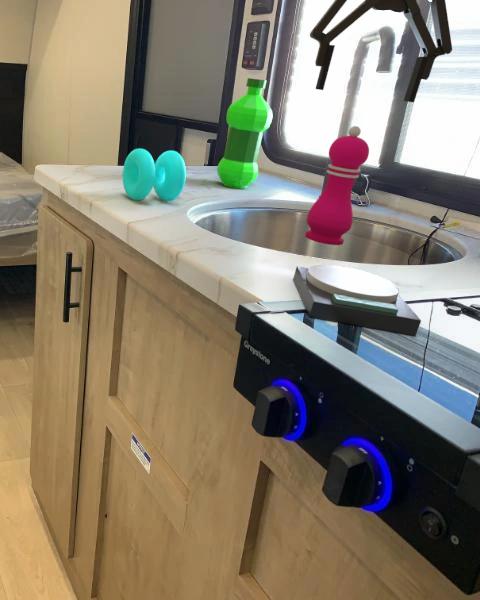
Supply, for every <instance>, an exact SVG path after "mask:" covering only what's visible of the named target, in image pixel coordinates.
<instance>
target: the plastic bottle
mask: <svg viewBox="0 0 480 600" xmlns="http://www.w3.org/2000/svg"><path fill="white" fill-rule="evenodd" d="M267 82H268V81H267V80H266V79H259V78H252V77H251V78H250V77H248V78H247V80H246V85H245V87H247V91H246V92H247V93H246V94H244V95H242V96H241V97H240V98H239V97H238V99H236V100H235V101H234V102H232V103H231V104H230V105H229V107H228V108H227V111H226V116H225V117H226V124H227V125H228V127H229V128H228V134H227V138H226V142H225V143H226V144H225V148H224V152H223V157H222V158H221V159H220V161H219V163H218V164H217V167H216V172H217V176H218V177H219V179H220V180H221V182H222V183H223V185H224V186H225V187H229V188H234V189H245V188H246V187H248V186H250V185H251V184H252V183H254V182H255V181H256V179H257V178H258V175H259V165H258V158H259V153H260V148H261V144H262V139H263V135H264V132H265V131H267V130H268V129H269V128H270V125H271V124H272V122H273V121H272V120H273V110H272V108H271V106H270V105H269V104H268V102H267V101H266V99H264V97H263V96H262V92H263V90H265V89H266V85H267Z"/></svg>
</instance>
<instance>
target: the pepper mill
mask: <svg viewBox="0 0 480 600" xmlns="http://www.w3.org/2000/svg"><path fill="white" fill-rule="evenodd" d="M361 132H362V130H361V128H360V127H359V126H357V125H354V126H351V127H350V128H349V129H348V135H343V136H340V137H338V138H336V139H335V140H334V141H333V142H332V143H331V145H330V147H329V149H328V157H329V159H330V161H331V163H329V164H328V165H327V166H328V168H327V170H326V173H327V174H328V175H327V181H326V184H325V186H324V189H323V191H322V193H320V195H319V196H318V198H317V199H316V200H315V202H314V203H313V204H312V206H311V207H310V209H309V211H308V213H307V217H306V222H307V225H308V227H309V230H307V231H306V232H305V234H304V237H305V238H306V239H308V240H311V241H312V242H316V243H320V244H324V245H329V246H330V245H331V246H342V245H343V244H344V242H345V239H344V237H343V235H345V234H347V233H348V232H349V231H350V230H351V229H352V224H353V220H354V213H353V212H354V211H353V206H352V191H353V186H354V184H355V181H356V179H358V178H359V177H360V172H361V169H360V167H361V166H362V165H364V164H365V163H366V162H367V160H368V158H369V155H370V147H369V144H368V143H367V141H366V140H364V139H363V138H362V137H359V136H360V135H361Z"/></svg>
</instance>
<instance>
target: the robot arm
mask: <svg viewBox="0 0 480 600" xmlns="http://www.w3.org/2000/svg"><path fill="white" fill-rule="evenodd" d="M347 1H348V0H334V1H333V2H332V3H331V5H330V6H329V7H328V8H327V10H326V11H325V13H324V14H323V15H322V16H321V18H320V19H319V20H318V22H317V23H316V25H315V26H314V27H313V28H312V30H311V31H310V33H309V37H310V38H311V39H313V40H315V41H316V42H318V45H319V46H318V49H317V53H316V54H317V55H316V58H315V62H314V64H315V67H320V68H319V69H320V70H319V73H318V77H317V82H316V84H315V90H318V91H319V90H320V91H324V89H325V85H326V81H327V77H328V73H329V70H330V66H331V62H332V58H333V54H334V51H335V47H336V45H335V44H331V43H332V41H334V40H335V39H336V38H337V37H339V36H340V35H341V34H342V33H343V32H345V30H347V29H348V28H349V27H350V26H352V25H353V24H354V23H355V22H357V20H359V19H360V18H361V17H362V16H364V14H366V13H368V12H369V11H370V10H371V9H372V10H373V11H375V12H377V13H382V12H383V13H384V12H385V13H386V12H387V13H390V14H393V15H398V14H401V13H403V16H404V18H406V20H407V22H408V24H409V26H410V29H411V30H412V33H413V35H414V37H415V39H416V41H417V43H418V45H419V48H420V50H421V52H422V54H423V56H417V57H416V60H415V63H414V66H413V70H412V73H411V76H410V79H409V82H408V85H407V88H406V91H405V95H404V98H403V102H406V103H407V102H408V103H415V100H416V97H417V94H418V91H419V88H420V85H421V82H422V81H427V80H428V79H429V77H430V76H431V73H432V69H433V66H434V62H435V60H436V59H437V58H438V57H439V56H440V57H441V56H446V55H450V54H451V53H452V51H453V44H452V38H451V31H450V30H451V29H450V23H449V16H448V11H447V10H448V9H447V4H446V0H428V1H429V2H430V11H431V18H432V25H433V31H434V37H435V40H434V39H433V37H432V35H431V32H430V31H429V28H428V26H427V24H426V22H425V20H424V17H423V15H422V13H421V11H422V10H421V8H420V6H419V4H418V0H363V2H361V3H360V4H359V5H358V6H357V7H356V8H355V9H354V10H352V11H351V12H350V13H349V14H348V15H346V16H345V17H344V18H343V19H341V20H340V22H338V23H337V24H336V25H335V26H333V27H332V28H331V29H330V30H329V31H328V32H327V33H325V32H324V31H325V29H326V28H327V27H328V26H329V25H330V23H331V22H332V20H334V18H335V17H336V15H337V14H338V13H339V12H340V10H341V9H342V8H343V7H344V5H345V3H346V2H347ZM434 41H435V42H434Z"/></svg>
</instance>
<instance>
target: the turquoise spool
mask: <svg viewBox="0 0 480 600" xmlns="http://www.w3.org/2000/svg"><path fill="white" fill-rule="evenodd" d="M186 180H187V167H186V163H185V160H184V158H183V156H182V155H181V154H180V153H179V152H178V151H176V150H172V149H171V150H166V151H164V152H162V153H161V154H160V155H159V156H158V158H157V159H156V160H154V159H153V156H152V154H151V153H150V152H149V151H148V150H147V149H145V148H140V147H139V148H134V149H133V150H131V151H130V153H129V154H128V155H127V157H125V161H124V164H123V169H122V185H123V188H124V192H125V194H126V195H127V196H128V197H129V198H130V199H131V200H134V201H142V200H143V199H145V198H147V197H148V196H149V195H150V193H151V192H152V190H154V192H155V194H156V195H157V197H158V198H159V199H161V200H162V201H165V202H172V201H174V200H176V199H178V197H180V195H181V194H182V192H183V190H184V188H185V185H186Z"/></svg>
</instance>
